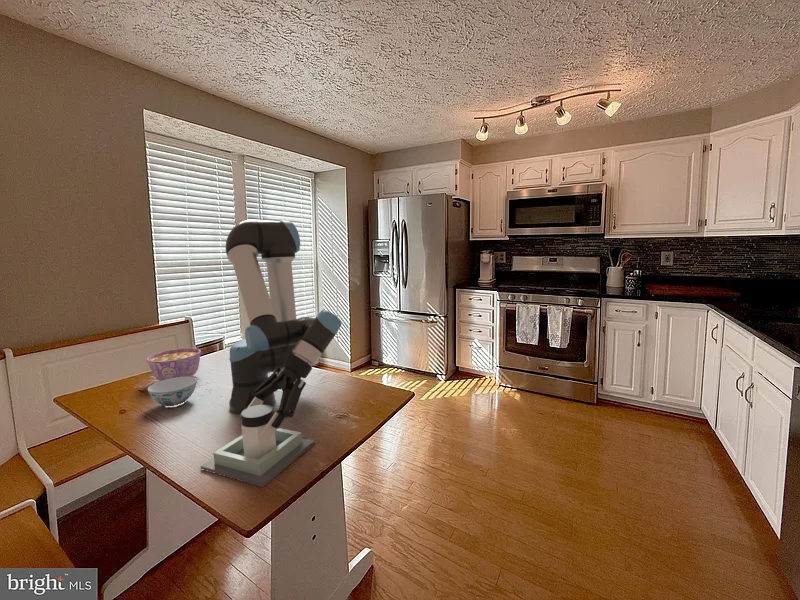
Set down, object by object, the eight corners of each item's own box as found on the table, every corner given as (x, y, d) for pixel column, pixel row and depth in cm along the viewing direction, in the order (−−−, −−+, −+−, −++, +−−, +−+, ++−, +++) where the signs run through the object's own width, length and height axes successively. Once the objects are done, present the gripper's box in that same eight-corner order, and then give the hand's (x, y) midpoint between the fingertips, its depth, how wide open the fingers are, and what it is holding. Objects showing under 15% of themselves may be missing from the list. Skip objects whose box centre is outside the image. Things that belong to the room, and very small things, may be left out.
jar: (269, 441, 104) (265, 401, 102) (284, 451, 98) (281, 408, 97) (237, 455, 97) (233, 412, 95) (252, 466, 92) (248, 421, 90)
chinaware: (141, 409, 131) (138, 388, 129) (181, 393, 144) (179, 374, 143) (167, 416, 124) (165, 394, 123) (207, 399, 138) (205, 379, 136)
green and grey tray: (201, 469, 93) (199, 455, 92) (259, 432, 111) (257, 419, 111) (262, 487, 85) (261, 471, 85) (314, 443, 104) (313, 430, 103)
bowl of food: (165, 392, 146) (161, 364, 144) (140, 383, 156) (137, 357, 155) (213, 376, 162) (210, 351, 161) (188, 369, 173) (185, 345, 171)
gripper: (334, 377, 97) (285, 453, 89) (291, 357, 115) (247, 419, 107) (315, 362, 92) (261, 441, 85) (273, 344, 111) (226, 407, 103)
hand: (253, 428), depth 96 cm, fingers open, 13 cm apart
